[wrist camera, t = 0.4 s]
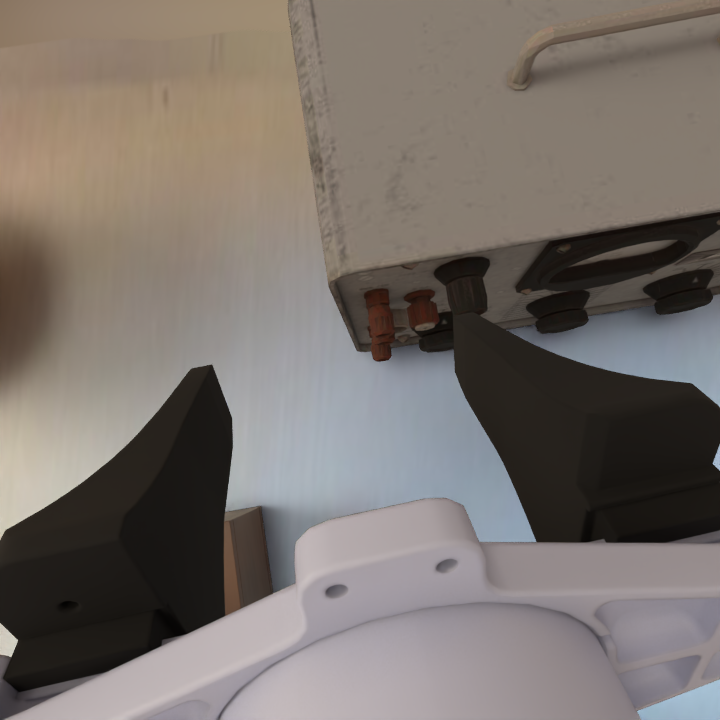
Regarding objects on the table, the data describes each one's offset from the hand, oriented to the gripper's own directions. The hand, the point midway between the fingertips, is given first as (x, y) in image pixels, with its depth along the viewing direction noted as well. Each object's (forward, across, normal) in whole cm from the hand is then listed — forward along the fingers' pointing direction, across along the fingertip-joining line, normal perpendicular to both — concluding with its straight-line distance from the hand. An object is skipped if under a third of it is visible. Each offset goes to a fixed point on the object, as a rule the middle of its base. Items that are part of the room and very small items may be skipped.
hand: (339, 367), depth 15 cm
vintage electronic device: (+29, -18, +12) cm, 36 cm away
